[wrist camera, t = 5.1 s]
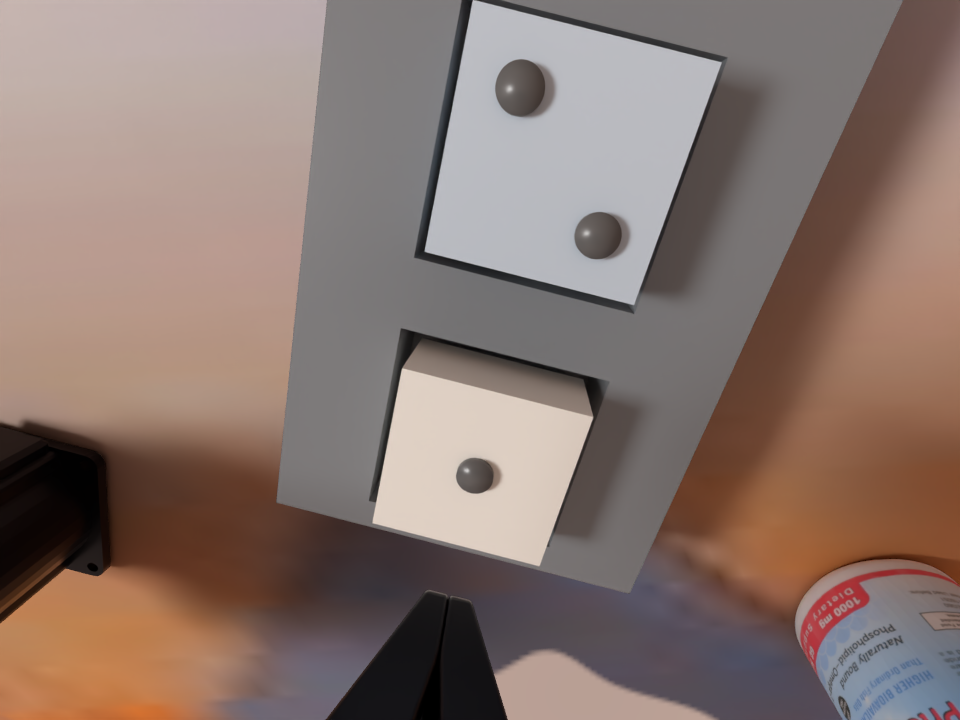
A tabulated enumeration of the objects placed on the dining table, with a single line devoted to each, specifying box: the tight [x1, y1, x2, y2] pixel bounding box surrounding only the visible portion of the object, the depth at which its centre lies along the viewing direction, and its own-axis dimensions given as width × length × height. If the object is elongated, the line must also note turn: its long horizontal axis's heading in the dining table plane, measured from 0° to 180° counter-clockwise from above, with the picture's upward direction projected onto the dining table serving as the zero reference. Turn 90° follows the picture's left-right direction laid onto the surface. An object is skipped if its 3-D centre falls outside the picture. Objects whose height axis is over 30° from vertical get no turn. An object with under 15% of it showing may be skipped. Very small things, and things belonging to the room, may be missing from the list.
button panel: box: [276, 0, 903, 594], centre depth 14 cm, size 24×12×4 cm, turn 167°
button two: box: [425, 0, 722, 305], centre depth 12 cm, size 5×5×3 cm
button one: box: [372, 338, 593, 566], centre depth 14 cm, size 5×5×3 cm
